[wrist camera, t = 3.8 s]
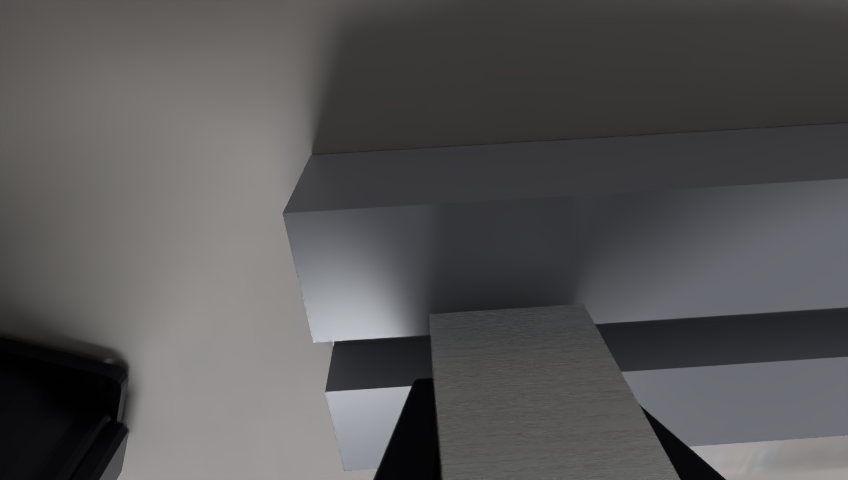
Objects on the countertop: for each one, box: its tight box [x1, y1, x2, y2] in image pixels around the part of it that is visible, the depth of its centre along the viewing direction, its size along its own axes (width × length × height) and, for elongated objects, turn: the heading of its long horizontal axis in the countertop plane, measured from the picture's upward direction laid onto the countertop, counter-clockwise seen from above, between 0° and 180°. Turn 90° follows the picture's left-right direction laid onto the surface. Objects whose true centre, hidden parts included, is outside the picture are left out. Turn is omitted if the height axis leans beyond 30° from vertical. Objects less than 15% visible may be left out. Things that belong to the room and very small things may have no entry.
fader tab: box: [429, 304, 680, 480], centre depth 9 cm, size 3×4×6 cm
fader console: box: [283, 123, 848, 471], centre depth 12 cm, size 20×8×3 cm, turn 93°
